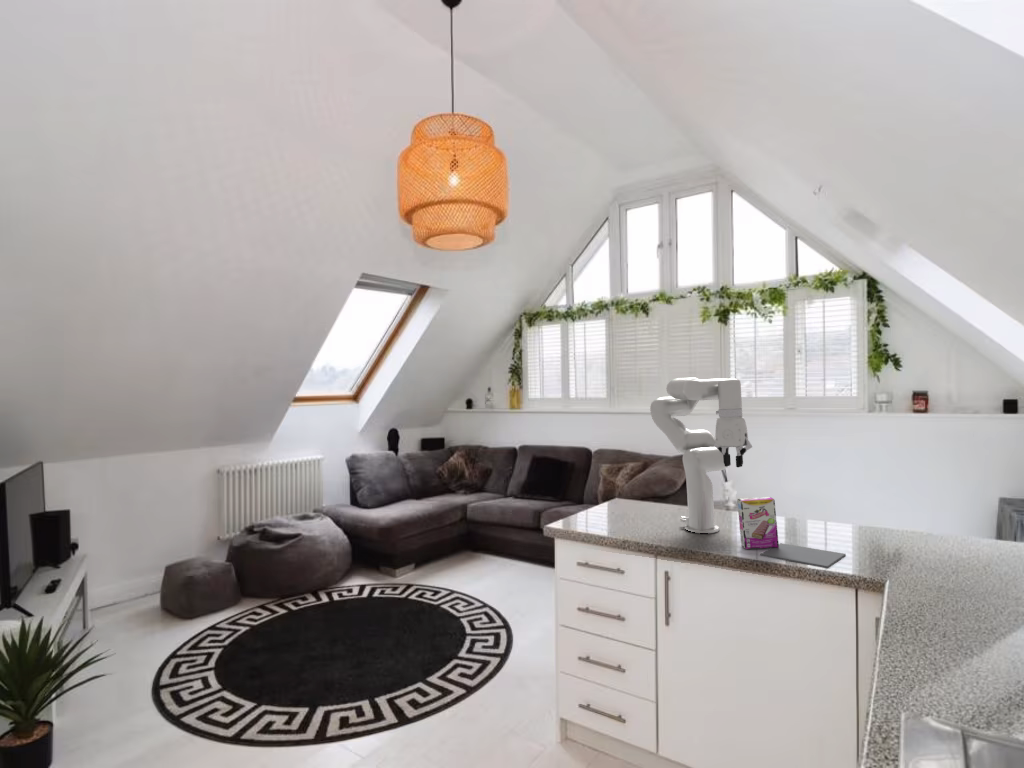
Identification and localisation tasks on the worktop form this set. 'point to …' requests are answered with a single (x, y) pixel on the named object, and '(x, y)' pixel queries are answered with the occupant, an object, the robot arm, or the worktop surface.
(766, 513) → the candy bar box
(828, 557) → the mat
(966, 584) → the worktop surface
